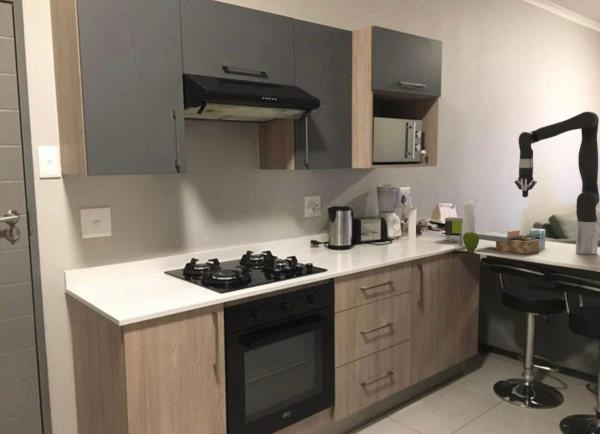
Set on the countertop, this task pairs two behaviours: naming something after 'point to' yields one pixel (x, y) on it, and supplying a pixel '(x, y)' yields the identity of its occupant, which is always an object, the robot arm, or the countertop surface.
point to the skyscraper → (467, 220)
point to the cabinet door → (500, 236)
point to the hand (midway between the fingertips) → (525, 197)
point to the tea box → (453, 228)
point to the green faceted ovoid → (471, 241)
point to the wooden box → (519, 246)
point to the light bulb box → (538, 236)
